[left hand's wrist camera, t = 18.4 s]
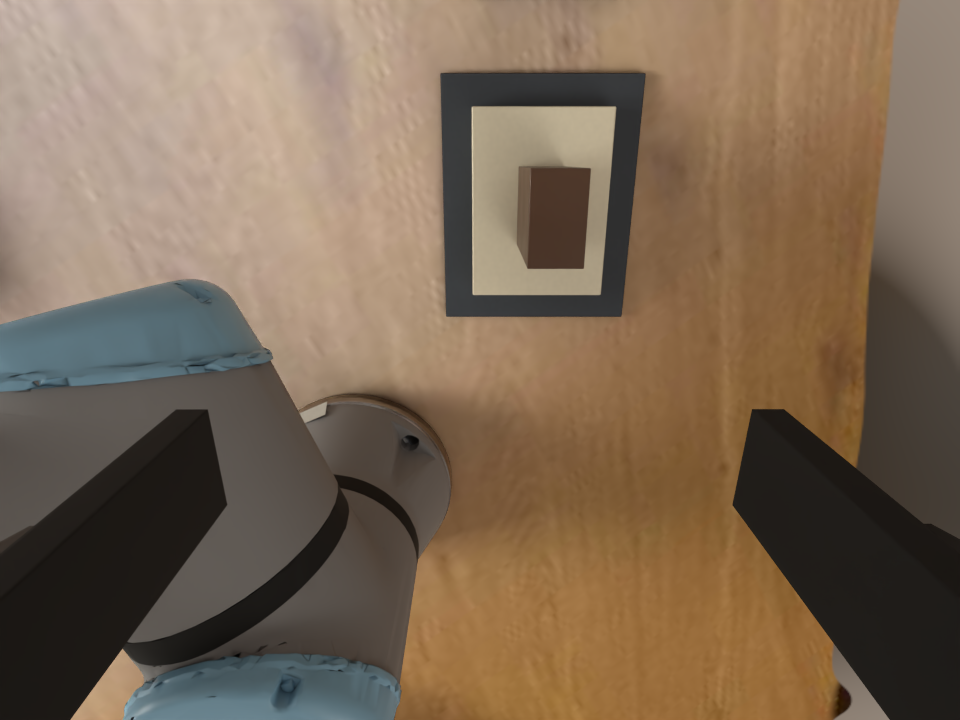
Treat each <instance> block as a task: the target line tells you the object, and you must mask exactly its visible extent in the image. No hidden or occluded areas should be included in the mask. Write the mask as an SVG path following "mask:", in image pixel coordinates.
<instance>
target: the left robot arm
mask: <svg viewBox="0 0 960 720" xmlns="http://www.w3.org/2000/svg"><path fill="white" fill-rule="evenodd" d="M272 359H273V356H272V353H271V352H270V350H268V349H266V348H263V347H262V345H261V343H260V342H259V340H258V339H257V337H256V335H255V334H254V332H253V331H252V329H251V328H250V326H249V324H248V323H247V321H246V319H245V318H244V316H243V315H242V313H241V311H240V310H239V308H238V306H237V305H236V303H235V302H234V300H233V299H232V298H231V297H230V295H229V294H228V293H227V292H225V291H224V290H223V289H221V288H220V287H218V286H216V285H214V284H212V283H210V282H207V281H203V280H196V279H185V280H178V281H172V282H167V283H163V284H158V285H154V286H149V287H145V288H141V289H137V290H133V291H128V292H124V293H120V294H116V295H112V296H108V297H104V298H100V299H96V300H92V301H88V302H84V303H80V304H76V305H72V306H69V307H65V308H61V309H57V310H53V311H49V312H45V313H42V314H38V315H34V316H30V317H27V318H23V319H19V320H15V321H12V322H8V323H4V324H0V720H70V719H71V718H72V717H73V715H74V714H75V712H76V711H77V710H78V708H79V707H80V706H81V704H82V703H83V702H84V700H85V699H86V697H87V696H88V695H89V693H90V692H91V691H92V689H93V688H94V687H95V685H96V684H97V682H98V681H99V680H100V678H101V677H102V676H103V674H104V673H105V671H106V670H107V669H108V667H109V666H110V665H111V663H112V662H113V661H114V659H115V658H116V656H117V655H118V654H119V652H120V651H121V650H122V648H123V650H124V651H125V652H126V653H127V654H128V656H129V657H130V658H131V660H132V661H133V662H134V663H135V664H136V666H137V667H138V668H139V669H140V671H141V672H142V674H143V676H144V684H143V686H142V687H140V688H138V689H137V690H136V691H135V692H134V693H133V695H132V696H131V698H130V699H129V700H128V702H127V703H126V705H125V709H124V713H125V716H124V718H123V720H394V716H395V713H396V709H397V706H398V705H399V702H400V695H401V691H402V690H401V689H400V687H401V686H400V677H401V671H402V664H403V657H404V650H405V644H406V637H407V630H408V623H409V617H410V610H411V603H412V596H413V590H414V583H415V576H416V570H417V562H418V559H419V557H420V556H421V554H422V553H423V551H424V550H425V548H426V547H427V545H428V544H429V542H430V541H431V539H432V538H433V536H434V535H435V533H436V532H437V530H438V529H439V527H440V525H441V523H442V521H443V519H444V518H445V515H446V513H447V510H448V506H449V502H450V495H451V482H452V475H451V467H450V462H449V458H448V455H447V453H446V450H445V448H444V446H443V444H442V442H441V441H440V439H439V438H438V436H437V435H436V433H435V432H434V431H433V430H432V429H431V427H430V426H429V425H428V424H427V423H426V422H425V421H424V420H422V419H421V418H420V417H419V416H417V415H416V414H415V413H413V412H412V411H410V410H408V409H407V408H405V407H403V406H401V405H399V404H397V403H394V402H392V401H389V400H386V399H383V398H379V397H375V396H369V395H359V394H347V395H338V396H332V397H328V398H324V399H321V400H318V401H316V402H313V403H311V404H309V405H307V406H305V407H304V408H302V409H301V410H299V411H298V410H297V408H296V406H295V404H294V403H293V401H292V399H291V397H290V395H289V393H288V392H287V390H286V388H285V386H284V384H283V382H282V381H281V379H280V377H279V375H278V373H277V372H276V370H275V368H274V366H273V364H272V362H271V361H270V360H272ZM733 506H734V508H735V509H736V510H737V512H738V513H739V514H740V516H741V517H742V519H743V520H744V521H745V523H746V524H747V525H748V527H749V528H750V530H751V531H752V532H753V534H754V535H755V536H756V538H757V539H758V540H759V542H760V543H761V545H762V546H763V547H764V549H765V550H766V551H767V553H768V554H769V555H770V557H771V558H772V560H773V561H774V562H775V564H776V565H777V566H778V568H779V569H780V570H781V572H782V573H783V575H784V576H785V577H786V579H787V580H788V581H789V583H790V584H791V585H792V587H793V588H794V590H795V591H796V592H797V594H798V595H799V596H800V598H801V599H802V600H803V602H804V603H805V605H806V606H807V607H808V609H809V610H810V611H811V613H812V614H813V616H814V617H815V618H816V620H817V621H818V622H819V624H820V625H821V626H822V628H823V629H824V631H825V632H826V633H827V635H828V636H829V637H830V639H831V640H832V641H833V643H834V644H835V646H836V647H837V648H838V650H839V651H840V652H841V654H842V655H843V656H844V658H845V659H846V661H847V662H848V663H849V665H850V666H851V667H852V669H853V670H854V671H855V673H856V674H857V676H858V677H859V678H860V680H861V681H862V682H863V684H864V685H865V687H866V688H867V689H868V691H869V692H870V693H871V695H872V696H873V697H874V699H875V700H876V702H877V703H878V704H879V706H880V707H881V708H882V710H883V711H884V712H885V714H886V715H887V717H888V718H889V719H890V720H960V539H958V538H956V537H954V536H953V535H951V534H949V533H947V532H945V531H943V530H941V529H940V528H938V527H936V526H934V525H932V524H923V523H922V522H921V521H919V520H918V519H917V518H916V517H914V516H913V515H912V514H911V513H910V512H908V511H907V510H906V509H905V508H903V507H902V506H901V505H900V504H899V503H897V502H896V501H895V500H894V499H893V498H891V497H890V496H889V495H888V494H886V493H885V492H884V491H883V490H882V489H880V488H879V487H878V486H877V485H875V484H874V483H873V482H872V481H871V480H869V479H868V478H867V477H866V476H865V475H863V474H862V473H861V472H860V471H858V470H857V469H856V468H855V467H854V466H852V465H851V464H850V463H849V462H847V461H846V460H845V459H844V458H843V457H841V456H840V455H839V454H838V453H836V452H835V451H834V450H833V449H832V448H830V447H829V446H828V445H827V444H825V443H824V442H823V441H822V440H821V439H819V438H818V437H817V436H816V435H815V434H813V433H812V432H811V431H810V430H808V429H807V428H806V427H805V426H804V425H802V424H801V423H800V422H799V421H797V420H796V419H795V418H794V417H793V416H791V415H790V414H789V413H788V412H786V411H785V410H784V409H752V412H751V417H750V422H749V427H748V432H747V437H746V442H745V447H744V452H743V456H742V461H741V466H740V471H739V476H738V481H737V486H736V491H735V495H734V500H733Z"/></svg>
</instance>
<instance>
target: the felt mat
mask: <svg viewBox="0 0 960 720" xmlns="http://www.w3.org/2000/svg"><path fill="white" fill-rule="evenodd" d="M644 84H645V73H441V112H442V155H443V197H444V239H445V281H446V316H447V317H621V315H622V305H623V295H624V285H625V275H626V265H627V255H628V245H629V235H630V225H631V215H632V205H633V195H634V185H635V175H636V164H637V154H638V144H639V134H640V124H641V114H642V104H643V94H644ZM473 106H615V107H616V117H615V129H614V141H613V153H612V165H611V177H610V189H609V201H608V213H607V225H606V237H605V249H604V261H603V273H602V285H601V294H600V295H473V265H472V107H473Z"/></svg>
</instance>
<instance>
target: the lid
mask: <svg viewBox="0 0 960 720" xmlns="http://www.w3.org/2000/svg"><path fill="white" fill-rule="evenodd" d="M615 117H616V107H615V106H473V107H472V265H473V295H600V294H601V285H602V273H603V261H604V249H605V237H606V225H607V213H608V201H609V189H610V177H611V165H612V153H613V141H614V129H615Z"/></svg>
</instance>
